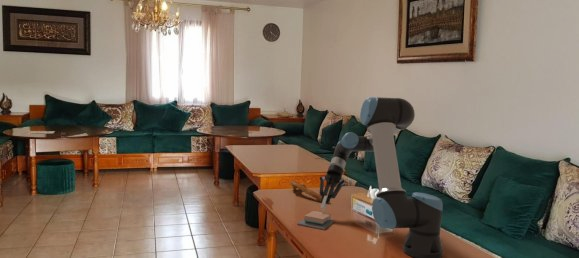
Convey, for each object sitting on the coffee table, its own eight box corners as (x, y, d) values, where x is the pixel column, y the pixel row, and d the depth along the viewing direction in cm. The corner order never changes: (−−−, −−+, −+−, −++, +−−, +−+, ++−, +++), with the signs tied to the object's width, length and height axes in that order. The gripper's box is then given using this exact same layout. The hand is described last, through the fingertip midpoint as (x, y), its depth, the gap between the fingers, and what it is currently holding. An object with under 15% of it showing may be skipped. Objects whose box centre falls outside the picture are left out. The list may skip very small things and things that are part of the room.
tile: (331, 214, 219) (323, 219, 209) (330, 219, 219) (322, 224, 209) (313, 210, 222) (304, 215, 212) (313, 216, 223) (304, 220, 213)
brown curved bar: (332, 203, 249) (326, 188, 246) (320, 212, 246) (313, 196, 243) (303, 186, 278) (297, 172, 275) (291, 193, 275) (285, 179, 272)
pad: (334, 221, 217) (334, 220, 217) (324, 229, 206) (324, 228, 206) (308, 216, 223) (308, 215, 223) (297, 224, 211) (297, 223, 211)
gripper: (350, 174, 234) (337, 215, 221) (325, 170, 239) (311, 210, 226) (347, 165, 228) (334, 207, 215) (322, 162, 234) (307, 202, 221)
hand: (322, 209), depth 221 cm, fingers closed
